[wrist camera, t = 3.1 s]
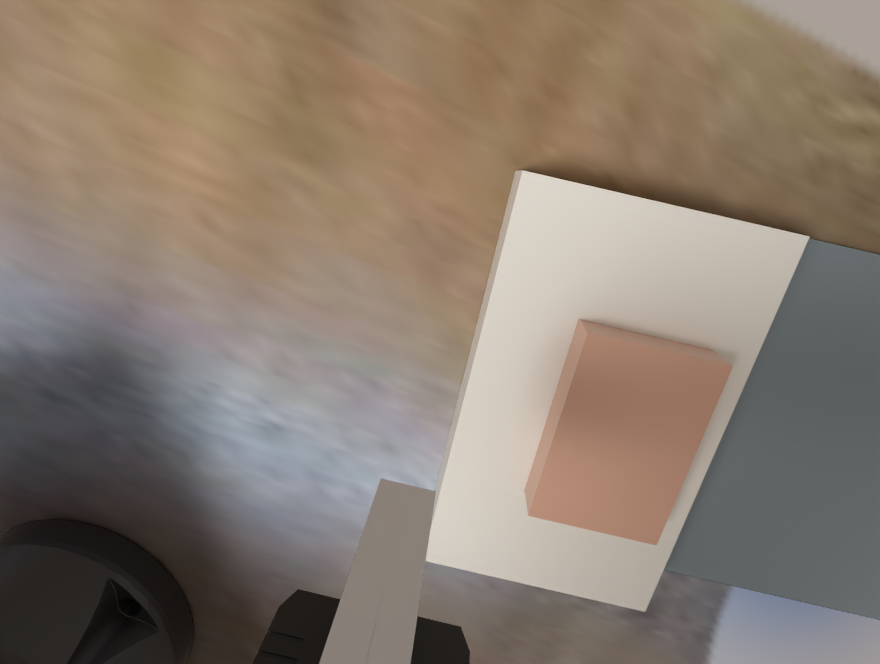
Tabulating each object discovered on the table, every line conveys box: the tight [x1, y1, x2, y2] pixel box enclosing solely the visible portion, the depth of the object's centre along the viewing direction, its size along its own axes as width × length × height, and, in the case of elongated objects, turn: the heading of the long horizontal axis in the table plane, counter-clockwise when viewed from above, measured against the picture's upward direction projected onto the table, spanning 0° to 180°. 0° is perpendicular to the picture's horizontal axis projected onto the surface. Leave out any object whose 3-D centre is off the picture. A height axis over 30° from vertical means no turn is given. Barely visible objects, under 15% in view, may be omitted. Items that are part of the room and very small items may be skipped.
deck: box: [426, 170, 810, 612], centre depth 26 cm, size 20×12×4 cm, turn 168°
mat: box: [664, 239, 880, 620], centre depth 28 cm, size 20×16×1 cm
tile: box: [524, 319, 733, 545], centre depth 23 cm, size 9×6×2 cm, turn 168°
